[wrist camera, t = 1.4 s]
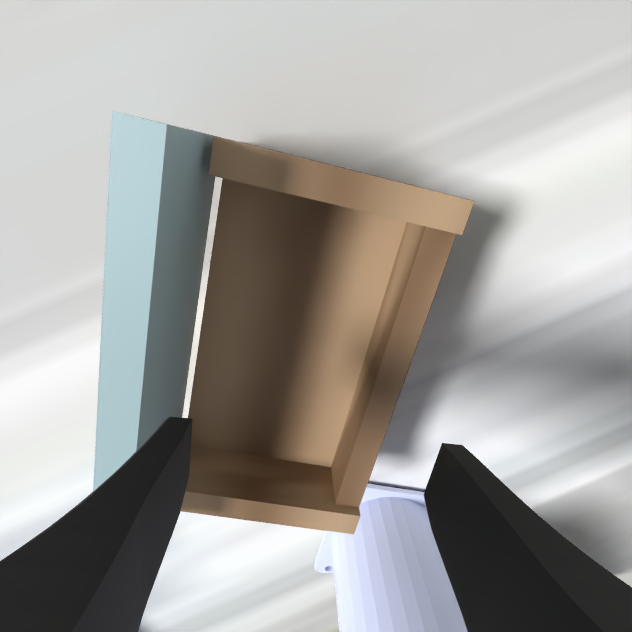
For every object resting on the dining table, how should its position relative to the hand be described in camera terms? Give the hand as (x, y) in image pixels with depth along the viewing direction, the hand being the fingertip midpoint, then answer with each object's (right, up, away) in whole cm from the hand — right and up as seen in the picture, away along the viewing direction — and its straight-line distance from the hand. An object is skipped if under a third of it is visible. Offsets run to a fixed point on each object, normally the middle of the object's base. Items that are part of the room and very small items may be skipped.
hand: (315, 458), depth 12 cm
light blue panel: (-6, +4, +7) cm, 10 cm away
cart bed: (-1, +4, +10) cm, 11 cm away
